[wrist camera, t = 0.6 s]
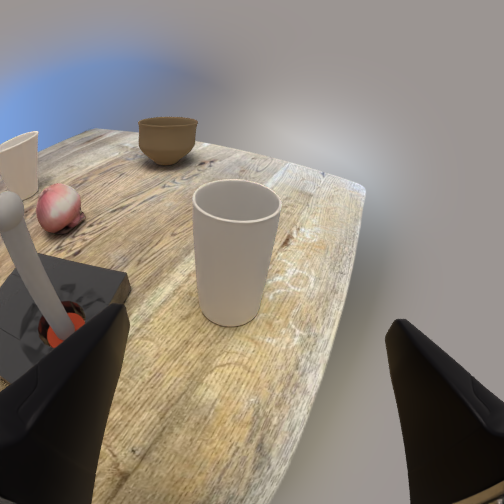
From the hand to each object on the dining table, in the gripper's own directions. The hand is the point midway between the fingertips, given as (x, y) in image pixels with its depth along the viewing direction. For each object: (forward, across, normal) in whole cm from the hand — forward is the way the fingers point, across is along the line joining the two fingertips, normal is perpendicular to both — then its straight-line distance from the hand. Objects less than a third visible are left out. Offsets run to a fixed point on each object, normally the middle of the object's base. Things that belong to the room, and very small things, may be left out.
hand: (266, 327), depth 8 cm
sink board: (+9, +21, +14) cm, 26 cm away
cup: (+37, +48, +10) cm, 62 cm away
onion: (+26, +28, +12) cm, 40 cm away
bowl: (+52, +17, +8) cm, 56 cm away
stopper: (+8, +17, +14) cm, 23 cm away
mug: (+17, +2, +13) cm, 21 cm away
